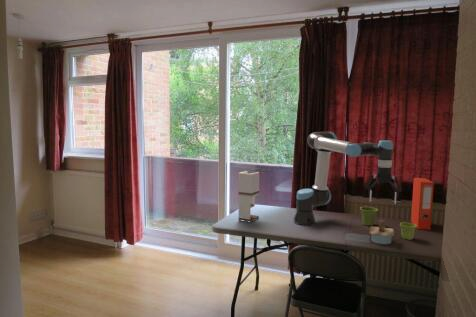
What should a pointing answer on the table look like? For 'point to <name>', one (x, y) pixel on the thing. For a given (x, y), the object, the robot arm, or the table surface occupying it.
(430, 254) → the table surface
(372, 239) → the slate-blue bowl
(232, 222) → the table surface
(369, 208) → the plant pot
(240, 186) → the white coffee grinder
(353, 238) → the charcoal mat
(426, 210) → the file binder
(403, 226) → the plant pot
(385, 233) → the oak board
